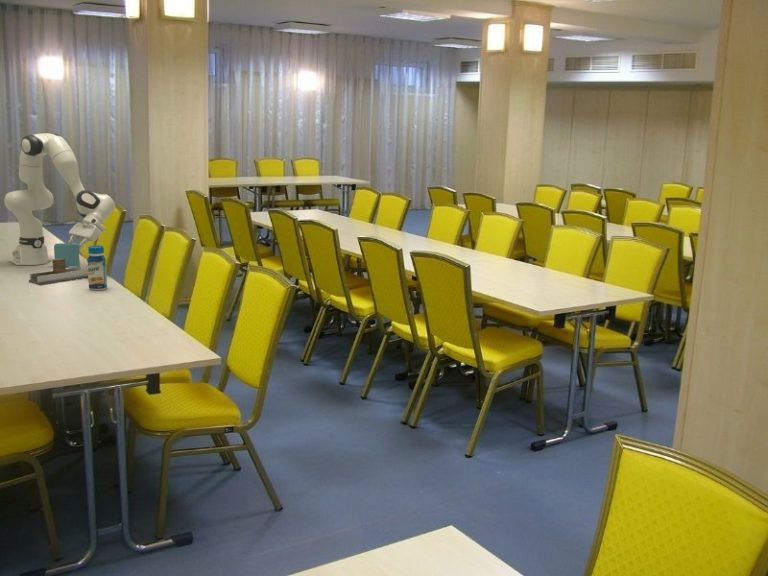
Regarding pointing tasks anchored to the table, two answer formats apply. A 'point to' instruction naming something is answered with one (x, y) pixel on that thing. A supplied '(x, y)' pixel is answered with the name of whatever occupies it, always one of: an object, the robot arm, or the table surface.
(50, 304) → the table surface
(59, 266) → the brown rectangular block
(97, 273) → the beverage bottle
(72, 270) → the rail
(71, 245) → the data package
